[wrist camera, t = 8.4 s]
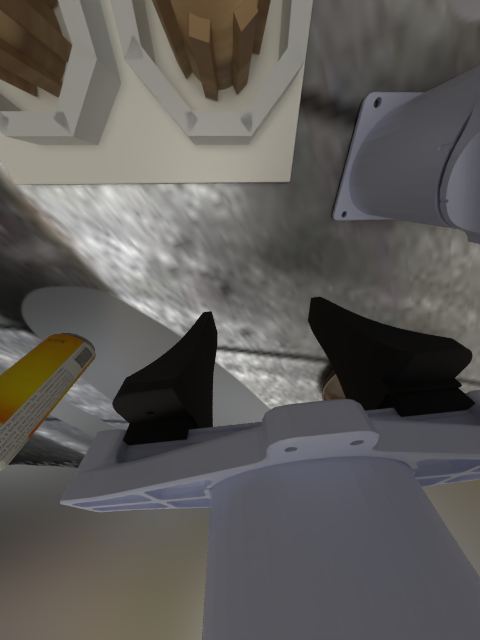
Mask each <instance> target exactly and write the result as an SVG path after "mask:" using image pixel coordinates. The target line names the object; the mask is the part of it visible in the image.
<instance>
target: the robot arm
mask: <svg viewBox="0 0 480 640" xmlns="http://www.w3.org/2000/svg"><path fill="white" fill-rule="evenodd" d="M375 100H377V101H378V105H377V107H376V108H375V107H374V102H375ZM343 212H345V215H344V216H343V217H342V216H341V215H342V213H343ZM332 218H333V219H334V220H390V219H399V220H405V221H411V222H417V223H423V224H429V225H436V226H442V227H448V228H454V229H460V230H462V231H464V232H465V233H466V234H467V236H468V241H469V242H473V243H478V244H480V65H478V66H476V67H474V68H472V69H470V70H468V71H466V72H464V73H462V74H460V75H458V76H456V77H454V78H452V79H450V80H448V81H447V82H445V83H443V84H441V85H439V86H437V87H435V88H433V89H431V90H429V91H427V92H372V93H370V94H368V95H367V96H366V97H365V98H364V100H363V102H362V104H361V108H360V112H359V116H358V119H357V123H356V127H355V131H354V134H353V138H352V142H351V146H350V150H349V153H348V157H347V161H346V165H345V168H344V172H343V176H342V180H341V184H340V187H339V191H338V195H337V199H336V203H335V206H334V210H333V214H332ZM308 322H309V324H310V327H311V329H312V332H313V333H314V335H315V337H316V339H317V340H318V342H319V344H320V345H321V347H322V348H323V350H324V352H325V353H326V355H327V357H328V359H329V360H330V362H331V364H332V367H333V369H334V371H335V373H336V376H337V378H338V380H339V383H340V385H341V387H342V390H343V392H344V395H345V398H346V399H335V400H325V401H316V402H307V403H298V404H289V405H283V406H279V407H275V408H273V409H271V410H269V411H268V412H266V413H265V415H264V417H263V419H262V422H256V423H247V424H237V425H228V426H218V427H213V417H212V404H213V402H212V400H213V372H214V364H215V357H216V350H217V329H216V326H215V322H214V318H213V315H212V311H210V312H203V313H202V315H201V316H200V317H199V319H198V320H197V321H196V322H195V324H194V325H193V326H192V328H191V329H190V330H189V331H188V332H187V333H186V334H185V336H184V337H183V338H182V339H181V340H180V341H179V342H178V343H177V344H176V345H174V346H173V347H172V348H171V349H170V350H169V351H167V352H166V353H165V354H163V355H162V356H161V357H160V358H158V359H157V360H155V361H154V362H152V363H151V364H149V365H148V366H146V367H145V368H143V369H141V370H139V371H138V372H136V373H135V374H132V375H131V376H129V377H127V378H126V379H125V381H124V382H123V384H122V386H121V388H120V390H119V391H118V393H117V395H116V397H115V399H114V400H113V403H112V404H113V408H114V409H115V411H116V412H117V413H118V414H119V415H121V416H122V417H123V418H124V419H125V420H126V421H128V422H129V423H130V424H129V427H128V429H127V431H126V430H123V429H116V430H107V431H100V432H98V433H97V435H96V437H95V438H94V440H93V442H92V444H91V446H90V447H89V449H88V451H87V453H86V455H85V457H84V458H83V460H82V462H81V464H80V466H79V467H78V470H77V471H76V473H75V475H74V476H73V478H72V480H71V482H70V484H69V486H68V487H67V489H66V491H65V493H64V495H63V496H62V498H61V500H60V504H63V505H68V506H72V507H77V508H82V509H86V510H91V511H95V512H110V511H124V510H143V509H170V508H171V509H172V508H201V507H203V508H204V507H205V508H206V507H210V521H209V536H208V552H207V554H208V555H207V568H206V584H205V601H204V616H203V632H202V640H480V577H479V575H478V574H477V572H476V571H475V569H474V568H473V566H472V565H471V563H470V561H469V560H468V558H467V557H466V555H465V554H464V552H463V551H462V549H461V548H460V546H459V545H458V543H457V541H456V540H455V538H454V537H453V535H452V534H451V532H450V531H449V529H448V528H447V526H446V524H445V523H444V521H443V520H442V518H441V517H440V515H439V514H438V512H437V510H436V509H435V507H434V506H433V504H432V503H431V501H430V500H429V499H428V497H427V495H426V494H425V492H424V491H423V489H422V487H428V486H435V485H442V484H449V483H455V482H463V481H471V480H478V479H480V390H475V391H470V392H468V393H466V394H465V393H464V392H462V391H461V390H460V389H459V388H458V387H461V386H462V385H461V383H460V382H458V381H457V380H456V379H455V377H456V376H457V375H458V374H459V373H460V372H461V371H462V370H463V369H464V368H465V367H467V365H468V364H469V363H470V362H471V359H472V352H471V351H470V350H469V349H467V348H466V347H464V346H463V345H461V344H460V343H458V342H457V341H455V340H454V339H452V338H446V337H440V336H434V335H428V334H422V333H418V332H413V331H408V330H404V329H400V328H396V327H392V326H389V325H385V324H382V323H379V322H376V321H373V320H370V319H367V318H365V317H362V316H360V315H357V314H355V313H353V312H351V311H348V310H346V309H344V308H342V307H340V306H338V305H336V304H334V303H332V302H330V301H328V300H326V299H324V298H322V297H314V298H311V303H310V310H309V317H308Z"/></svg>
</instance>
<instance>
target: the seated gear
mask: <svg viewBox="0 0 480 640" xmlns="http://www.w3.org/2000/svg"><path fill="white" fill-rule="evenodd" d="M57 2H58V1H57V0H0V80H2V81H5V82H7V83H9V84H11V85H13V86H15V87H17V88H19V89H21V90H23V91H25V92H27V93H29V94H31V95H33V96H35V97H37V96H36V90H35V86H38V87H40V88H41V89H43V90H45V91H47V92H49V93H51V94H52V95H54V96H56V97H59V96H60V92H61V88H62V84H63V83H62V81H61V79H62V77H63V75H64V72H65V67H66V62H68V61H69V57H70V53H71V49H72V44H71V43H70V42H69V41H68V40H67V39H65V38H64V37H63V35H62V32H61V29H60V26H59V23H58V20H57V18H56V15H55V13H54V11H53V9H52V6H53V5H54V4H55V3H57Z"/></svg>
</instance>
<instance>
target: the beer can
mask: <svg viewBox="0 0 480 640" xmlns="http://www.w3.org/2000/svg"><path fill="white" fill-rule="evenodd" d="M94 359H95V348H94V346H93V345H92V344H91V342H89V341H88V340H87V339H85V338H83V337H81V336H79V335H76V334H71V333H63V334H55V335H52V336H49V337H48V338H47V339H46V340H44V341H43V342H42V343H41V344H39V345H38V346H37V347H36V348H34V349H33V350H32V351H30V352H29V353H28V354H27V355H25V356H24V357H23V358H22V359H20V360H19V361H18V362H17V363H15V364H14V365H13V366H12V367H10V368H9V369H8V370H7V371H5V372H4V373H3V374H2V375H0V471H1V470H3V469H4V468H5V467H6V466H7V465H8V464H9V463H10V462H11V460H12V459H13V458H14V457H15V455H16V454H17V453H18V452H19V450H20V449H21V448H22V447H23V446H24V444H25V443H26V442H27V441H28V439H29V438H30V437H31V436H32V435H33V433H34V432H35V431H36V430H37V428H38V427H39V426H40V425H41V424H42V422H43V421H44V420H45V419H46V417H47V416H48V415H49V414H50V412H51V411H52V410H53V409H54V407H55V406H56V405H57V404H58V403H59V401H60V400H61V399H62V398H63V397H64V395H65V394H66V393H67V392H68V390H69V389H70V388H71V387H72V386H73V384H74V383H75V382H76V381H77V379H78V378H79V377H80V375H82V373H83V372H84V371H85V370H86V368H87V367H88V366H89V365H90V363H91V362H92V361H93V360H94Z"/></svg>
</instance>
